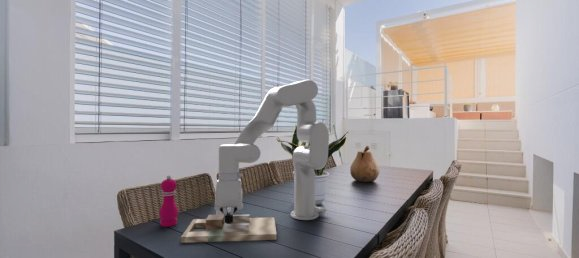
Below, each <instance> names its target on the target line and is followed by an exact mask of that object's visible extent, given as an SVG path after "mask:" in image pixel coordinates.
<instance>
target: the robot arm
mask: <svg viewBox="0 0 579 258" xmlns="http://www.w3.org/2000/svg"><path fill="white" fill-rule="evenodd" d="M318 92H319V87H318V85H317V83H316V82H315V81H313V80H311V79H304V80H299V81H295V82H292V83H289V84H285V85H281V86H276V87H273V88H271V89H269V91H268V92H267V93H266V95H265V96H264V99H263V101H262V102H261V104H260V106H259V108H258V110H257V112H256V113H255V115H254V116H253V118H252V119H251V120H249V122H248V124H246V125H245V127H243V129H242V131H241V132H240V134H239V135H238V137H237V138H236V141H235V142H234V143H227V144H220V145H219V147H218V179H217V180H216V184H215V192H214V194H215V195H214V210H215V211H216V210H220V211H221V212H222V213H223V214H224V215H225V217H224V219H225V223H226V224H231V223H233V215H235V212H236V211H240V210H243V209H244V204H243V201H244V200H243V199H244V197H243V185H242V179H241V178H244V177H243V175H244V174H243V173H241V172H240V164H241V163H242V164H243V163H245V164H253V163H255V162H257V161H259V159H260V158H261V150H260V148H259V146H257V145H256V144H255V142H256V141H257V139H258V138H259V137H260V136H261V135H262V134H264V133H266V132H268V131H270V130H271V129H272V128H273V127H274V125H275V124H276V123H277V120H278V117H279V115H281V112H282V110H283V108H286V107H287V108H288V107H293V106H295V108H296V113H297V118H296V121H297V122H296V138H297V140H298V141H300V142H302V143H307V144H309V145H299V146H296V148H295V149H293V152H292V157H291V158H292V164H293V173H294V178H293V179H294V181H293V183H294V186H293V188H294V190H293V193H294V194H293V210H292V211H291V212H290V216H291V218H293V219H296V220H300V221H310V220H311V221H312V220H316V219H317V218H319V213H326V211H327V208H326V207H323V206H317V205H316V180H317V179H316V173H315V170H322V169H324V168H325V166H326V164H327V163H328V160H329V159H328V158H329V145H330V142H329V141H330V133H329V129H328V127H327V125H326V124H325V123H324V122H321V121H317V107H316V105H315V103H314V101H313V99H315V98H316V97H317V95H318ZM227 207H231V211H230V213H228V210H227Z"/></svg>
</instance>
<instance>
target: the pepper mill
mask: <svg viewBox="0 0 579 258" xmlns="http://www.w3.org/2000/svg"><path fill="white" fill-rule="evenodd" d="M177 183H178V182H177V181H176V180H175V179H172V175H170V174H168V175H167V176H166V179H163V181H162V182H161V183H160V188H161V190H162V191H161V193H162V194H161V195H162V196H163V201H162V205H161V207H160V209H159V211H158V212H159V215H158V217H159V218H160V227H165V228H167V227H173V226H176V225H177V223H178V218H177V217H178V215H179V208H178V207H177V204H176V201H175V195H176V188H177V186H178V184H177Z"/></svg>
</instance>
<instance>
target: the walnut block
mask: <svg viewBox="0 0 579 258" xmlns="http://www.w3.org/2000/svg"><path fill="white" fill-rule="evenodd" d="M205 219H206V229H222V228H223V226H224V219H225V217H224V214H221V215H216V214H208V216H207V217H206V218H205Z"/></svg>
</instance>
